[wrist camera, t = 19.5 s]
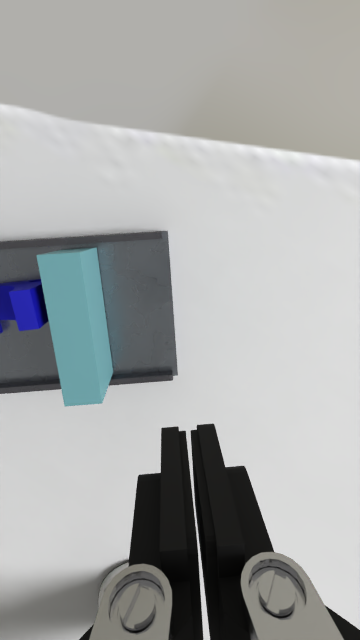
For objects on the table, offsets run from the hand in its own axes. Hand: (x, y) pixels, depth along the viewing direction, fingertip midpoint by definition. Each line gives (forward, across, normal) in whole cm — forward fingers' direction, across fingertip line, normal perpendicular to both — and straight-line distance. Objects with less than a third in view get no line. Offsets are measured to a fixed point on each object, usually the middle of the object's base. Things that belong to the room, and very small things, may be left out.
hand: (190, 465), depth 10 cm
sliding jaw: (+20, +8, 0) cm, 22 cm away
